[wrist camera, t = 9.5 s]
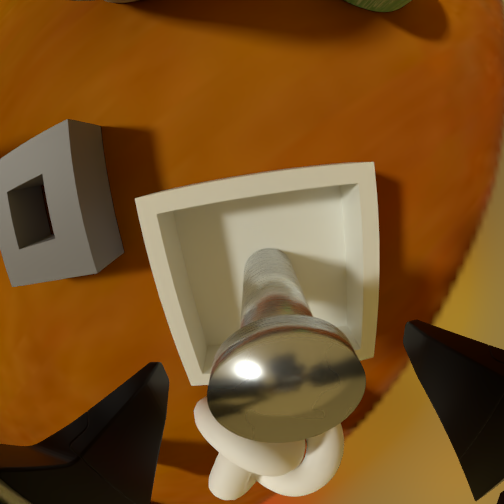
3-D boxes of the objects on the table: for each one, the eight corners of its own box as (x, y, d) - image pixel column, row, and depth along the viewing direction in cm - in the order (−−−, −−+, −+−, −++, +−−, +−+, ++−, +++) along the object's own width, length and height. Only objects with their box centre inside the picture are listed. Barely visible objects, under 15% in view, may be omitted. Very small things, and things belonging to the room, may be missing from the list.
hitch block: (124, 252, 17) (97, 273, 14) (41, 268, 18) (12, 287, 14) (100, 126, 15) (67, 118, 11) (19, 165, 15) (-14, 169, 11)
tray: (354, 326, 19) (373, 357, 16) (199, 350, 20) (191, 385, 16) (346, 162, 16) (373, 161, 12) (158, 191, 16) (134, 198, 13)
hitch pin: (308, 298, 17) (358, 428, 7) (238, 309, 18) (226, 447, 8) (301, 229, 16) (371, 322, 6) (224, 241, 16) (186, 351, 6)
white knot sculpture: (294, 446, 24) (304, 512, 16) (186, 430, 23) (173, 501, 15) (342, 380, 21) (373, 459, 13) (206, 355, 20) (189, 450, 12)
